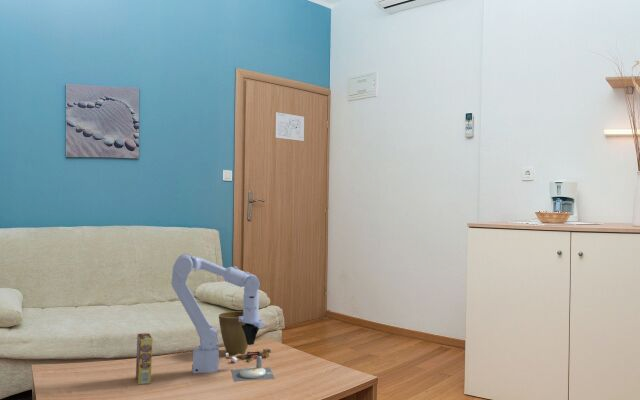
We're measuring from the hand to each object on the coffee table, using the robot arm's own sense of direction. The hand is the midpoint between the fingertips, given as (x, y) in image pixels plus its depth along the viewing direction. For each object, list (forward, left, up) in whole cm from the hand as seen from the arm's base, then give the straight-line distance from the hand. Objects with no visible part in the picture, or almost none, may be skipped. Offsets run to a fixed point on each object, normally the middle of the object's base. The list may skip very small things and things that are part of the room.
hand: (250, 344), depth 186 cm
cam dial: (0, -8, -8) cm, 12 cm away
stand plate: (0, -8, -9) cm, 12 cm away
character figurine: (+1, +13, -10) cm, 16 cm away
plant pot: (-3, +25, -10) cm, 26 cm away
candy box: (-37, -3, -10) cm, 38 cm away
